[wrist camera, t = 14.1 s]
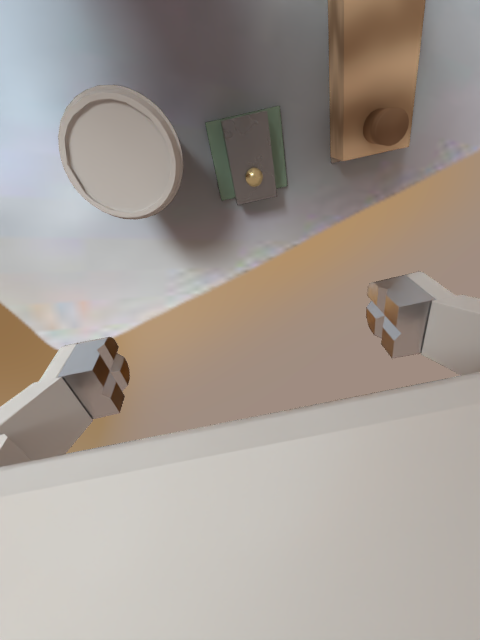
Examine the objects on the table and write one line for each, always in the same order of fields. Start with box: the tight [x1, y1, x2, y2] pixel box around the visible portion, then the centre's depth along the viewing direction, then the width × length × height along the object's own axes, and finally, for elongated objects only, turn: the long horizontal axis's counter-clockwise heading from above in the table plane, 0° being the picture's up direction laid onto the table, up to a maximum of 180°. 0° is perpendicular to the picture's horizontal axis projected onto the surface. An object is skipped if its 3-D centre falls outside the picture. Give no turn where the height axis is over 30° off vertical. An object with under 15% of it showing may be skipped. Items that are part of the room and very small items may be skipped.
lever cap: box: [221, 111, 277, 205], centre depth 33 cm, size 8×4×4 cm, turn 11°
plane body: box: [328, 0, 425, 163], centre depth 26 cm, size 21×7×9 cm, turn 11°
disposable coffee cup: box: [58, 85, 183, 219], centre depth 28 cm, size 10×10×12 cm
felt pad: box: [205, 106, 287, 201], centre depth 35 cm, size 8×8×1 cm
